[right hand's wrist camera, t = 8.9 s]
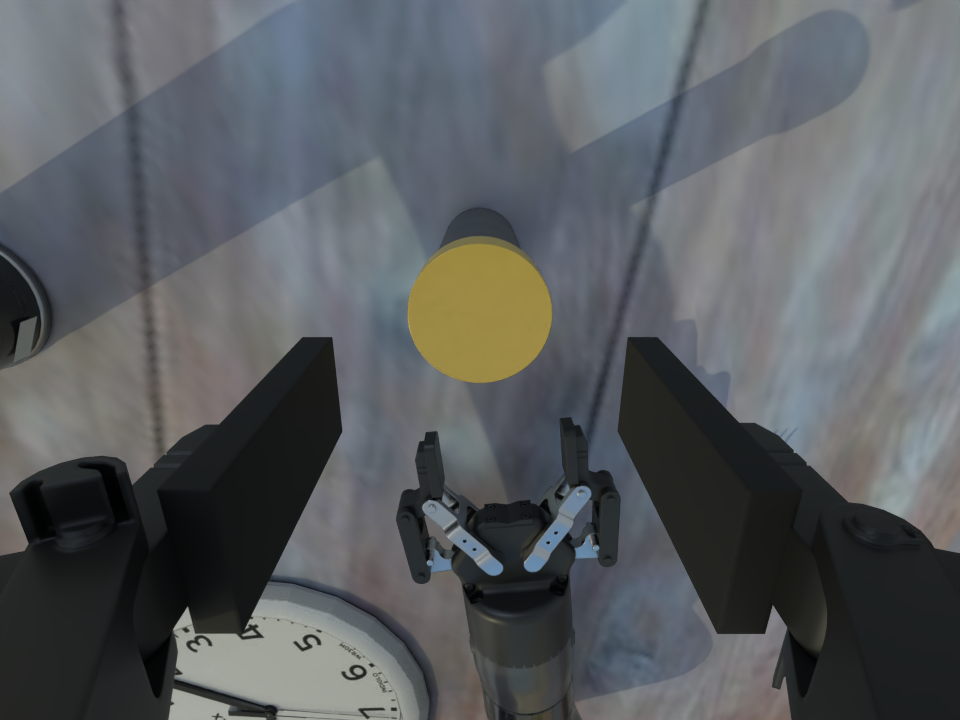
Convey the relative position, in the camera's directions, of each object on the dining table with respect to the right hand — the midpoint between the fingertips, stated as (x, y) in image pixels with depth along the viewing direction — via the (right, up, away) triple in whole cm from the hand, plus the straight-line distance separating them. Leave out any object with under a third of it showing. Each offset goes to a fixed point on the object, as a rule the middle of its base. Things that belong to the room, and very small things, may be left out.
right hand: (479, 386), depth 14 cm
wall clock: (-20, -32, +37) cm, 53 cm away
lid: (0, +2, +6) cm, 7 cm away
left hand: (+1, -4, +19) cm, 19 cm away
